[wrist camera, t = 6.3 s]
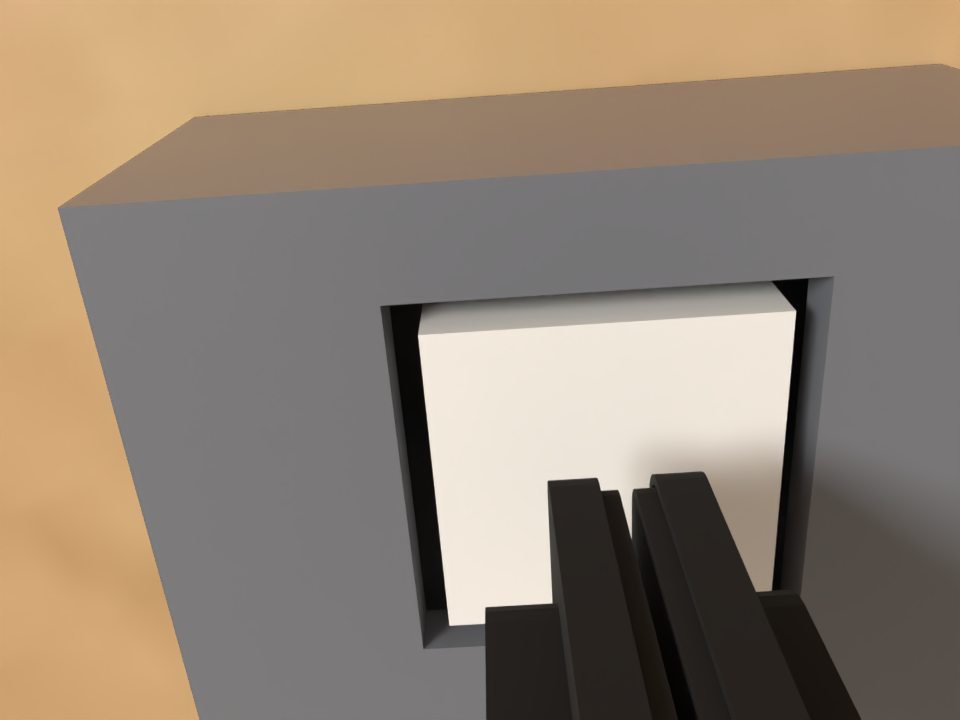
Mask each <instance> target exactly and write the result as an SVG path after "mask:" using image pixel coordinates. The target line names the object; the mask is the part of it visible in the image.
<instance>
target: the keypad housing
mask: <svg viewBox="0 0 960 720" xmlns="http://www.w3.org/2000/svg"><path fill="white" fill-rule="evenodd" d="M58 211H59V214H60V218H61V222H62V225H63V229H64V233H65V236H66V240H67V243H68V247H69V251H70V254H71V258H72V261H73V265H74V269H75V272H76V276H77V279H78V283H79V287H80V290H81V294H82V297H83V301H84V305H85V308H86V312H87V315H88V319H89V323H90V326H91V330H92V333H93V337H94V341H95V344H96V348H97V352H98V355H99V359H100V362H101V366H102V370H103V373H104V377H105V380H106V384H107V388H108V391H109V395H110V398H111V402H112V406H113V409H114V413H115V416H116V420H117V424H118V427H119V431H120V434H121V438H122V442H123V445H124V449H125V452H126V456H127V460H128V463H129V467H130V471H131V474H132V478H133V481H134V485H135V489H136V492H137V496H138V499H139V503H140V507H141V510H142V514H143V517H144V521H145V525H146V528H147V532H148V535H149V539H150V543H151V546H152V550H153V553H154V557H155V561H156V564H157V568H158V571H159V575H160V579H161V582H162V586H163V590H164V593H165V597H166V600H167V604H168V608H169V611H170V615H171V618H172V622H173V626H174V629H175V633H176V636H177V640H178V644H179V647H180V651H181V654H182V658H183V662H184V665H185V669H186V672H187V676H188V680H189V683H190V687H191V690H192V694H193V698H194V701H195V705H196V709H197V712H198V716H199V719H200V720H486V663H485V624H472V625H454V626H449V617H448V608H447V599H446V589H445V580H444V571H443V562H442V552H441V543H440V534H439V524H438V515H437V506H436V497H435V487H434V478H433V469H432V460H431V450H430V441H429V432H428V423H427V413H426V404H425V395H424V386H423V376H422V367H421V358H420V349H419V339H418V332H419V326H420V319H421V312H422V306H423V303H432V302H447V301H463V300H478V299H494V298H509V297H524V296H540V295H555V294H571V293H586V292H601V291H617V290H632V289H648V288H663V287H678V286H694V285H709V284H725V283H740V282H755V281H772V283H773V284H774V285H775V286H776V287H777V289H778V290H779V291H780V292H781V293H782V295H783V296H784V297H785V298H786V299H787V301H788V302H789V303H790V304H791V305H792V307H793V308H794V309H795V310H796V319H795V330H794V342H793V353H792V365H791V376H790V387H789V399H788V410H787V421H786V433H785V444H784V456H783V467H782V478H781V490H780V501H779V512H778V524H777V535H776V547H775V558H774V569H773V581H772V591H778V590H793V591H795V592H796V593H797V594H799V596H800V598H801V599H802V601H803V602H804V604H805V606H806V608H807V610H808V612H809V614H810V616H811V618H812V620H813V622H814V624H815V626H816V628H817V630H818V632H819V634H820V636H821V638H822V640H823V642H824V644H825V646H826V648H827V650H828V653H829V655H830V657H831V659H832V661H833V663H834V665H835V667H836V669H837V671H838V673H839V675H840V677H841V679H842V681H843V683H844V685H845V687H846V689H847V691H848V693H849V695H850V697H851V699H852V701H853V703H854V705H855V707H856V709H857V711H858V713H859V715H860V718H861V720H960V69H957V68H953V67H950V66H946V65H943V64H931V65H917V66H903V67H889V68H875V69H861V70H847V71H833V72H819V73H805V74H791V75H777V76H763V77H749V78H735V79H721V80H707V81H693V82H679V83H665V84H651V85H637V86H623V87H609V88H595V89H581V90H567V91H553V92H539V93H525V94H511V95H497V96H483V97H469V98H455V99H441V100H427V101H413V102H399V103H385V104H371V105H357V106H343V107H329V108H315V109H301V110H287V111H273V112H259V113H245V114H231V115H217V116H203V117H194V118H192V119H191V120H189V121H188V122H186V123H185V124H183V125H182V126H180V127H179V128H177V129H176V130H174V131H173V132H171V133H170V134H168V135H167V136H165V137H164V138H162V139H161V140H159V141H158V142H156V143H155V144H153V145H152V146H150V147H149V148H147V149H146V150H144V151H143V152H141V153H140V154H138V155H137V156H135V157H134V158H132V159H131V160H129V161H128V162H126V163H125V164H123V165H122V166H120V167H119V168H117V169H115V170H114V171H112V172H111V173H109V174H108V175H106V176H105V177H103V178H102V179H100V180H99V181H97V182H96V183H94V184H93V185H91V186H90V187H88V188H87V189H85V190H84V191H82V192H81V193H79V194H78V195H76V196H75V197H73V198H72V199H70V200H69V201H67V202H66V203H64V204H63V205H61V206H60V207H58Z"/></svg>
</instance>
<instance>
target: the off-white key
mask: <svg viewBox="0 0 960 720" xmlns="http://www.w3.org/2000/svg"><path fill="white" fill-rule="evenodd" d="M795 319H796V310H795V309H794V308H793V307H792V305H791V304H790V303H789V302H788V301H787V299H786V298H785V297H784V296H783V295H782V293H781V292H780V291H779V290H778V289H777V287H776V286H775V285H774V284H773V283H772V281H755V282H740V283H725V284H709V285H694V286H678V287H663V288H648V289H632V290H617V291H601V292H586V293H571V294H555V295H540V296H524V297H509V298H494V299H478V300H463V301H447V302H432V303H423V306H422V312H421V319H420V326H419V332H418V339H419V349H420V358H421V367H422V376H423V386H424V395H425V404H426V413H427V423H428V432H429V441H430V450H431V460H432V469H433V478H434V487H435V497H436V506H437V515H438V524H439V534H440V543H441V552H442V562H443V571H444V580H445V589H446V599H447V608H448V617H449V626H454V625H472V624H485V607H497V606H515V605H532V604H550V603H552V582H551V560H550V537H549V515H548V491H547V482H548V481H549V480H565V479H582V478H598V481H599V484H600V488H601V491H605V490H618V491H619V493H620V496H621V500H622V504H623V508H624V512H625V516H626V520H627V524H628V527H629V531H630V535H631V539H632V492H633V489H638V488H649V484H650V478H651V475H652V474H664V473H681V472H698V471H702V472H704V473H705V475H706V476H707V478H708V481H709V483H710V485H711V488H712V490H713V492H714V495H715V497H716V499H717V502H718V504H719V506H720V509H721V511H722V513H723V516H724V518H725V520H726V523H727V525H728V527H729V530H730V532H731V534H732V537H733V539H734V541H735V544H736V546H737V548H738V551H739V553H740V555H741V558H742V560H743V562H744V565H745V567H746V569H747V572H748V574H749V577H750V579H751V581H752V584H753V586H754V588H755V591H756V592H761V591H772V581H773V569H774V558H775V547H776V535H777V524H778V512H779V501H780V490H781V478H782V467H783V456H784V444H785V433H786V421H787V410H788V399H789V387H790V376H791V365H792V353H793V342H794V330H795Z"/></svg>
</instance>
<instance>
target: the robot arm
mask: <svg viewBox="0 0 960 720" xmlns="http://www.w3.org/2000/svg"><path fill="white" fill-rule="evenodd" d="M547 491H548V515H549V537H550V560H551V582H552V603H550V604H532V605H515V606H497V607H485V663H486V720H861V718H860V715H859V713H858V711H857V709H856V707H855V705H854V703H853V701H852V699H851V697H850V695H849V693H848V691H847V689H846V687H845V685H844V683H843V681H842V679H841V677H840V675H839V673H838V671H837V669H836V667H835V665H834V663H833V661H832V659H831V657H830V655H829V653H828V650H827V648H826V646H825V644H824V642H823V640H822V638H821V636H820V634H819V632H818V630H817V628H816V626H815V624H814V622H813V620H812V618H811V616H810V614H809V612H808V610H807V608H806V606H805V604H804V602H803V601H802V599H801V598H800V596H799V594H797V593H796V592H795V591H793V590H778V591H761V592H756V591H755V588H754V586H753V584H752V581H751V579H750V577H749V574H748V572H747V569H746V567H745V565H744V562H743V560H742V558H741V555H740V553H739V551H738V548H737V546H736V544H735V541H734V539H733V537H732V534H731V532H730V530H729V527H728V525H727V523H726V520H725V518H724V516H723V513H722V511H721V509H720V506H719V504H718V502H717V499H716V497H715V495H714V492H713V490H712V488H711V485H710V483H709V481H708V478H707V476H706V475H705V473H704V472H702V471H698V472H681V473H664V474H652V475H651V478H650V484H649V488H638V489H633V492H632V539H631V535H630V531H629V527H628V524H627V520H626V516H625V512H624V508H623V504H622V500H621V496H620V493H619V491H618V490H605V491H601V488H600V484H599V481H598V478H582V479H565V480H549V481H548V482H547Z"/></svg>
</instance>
